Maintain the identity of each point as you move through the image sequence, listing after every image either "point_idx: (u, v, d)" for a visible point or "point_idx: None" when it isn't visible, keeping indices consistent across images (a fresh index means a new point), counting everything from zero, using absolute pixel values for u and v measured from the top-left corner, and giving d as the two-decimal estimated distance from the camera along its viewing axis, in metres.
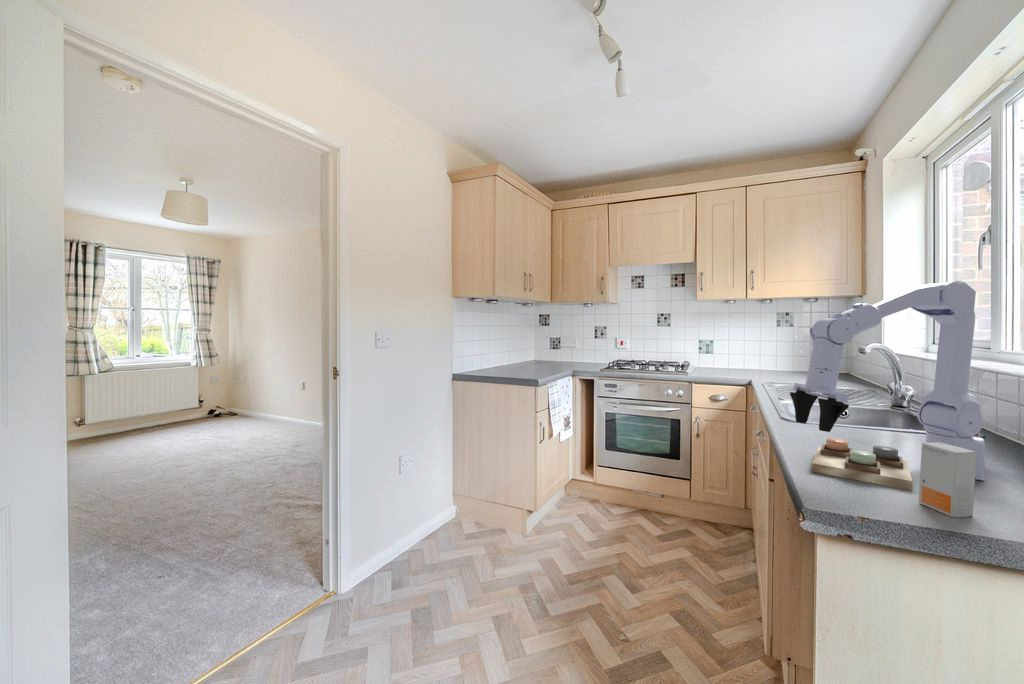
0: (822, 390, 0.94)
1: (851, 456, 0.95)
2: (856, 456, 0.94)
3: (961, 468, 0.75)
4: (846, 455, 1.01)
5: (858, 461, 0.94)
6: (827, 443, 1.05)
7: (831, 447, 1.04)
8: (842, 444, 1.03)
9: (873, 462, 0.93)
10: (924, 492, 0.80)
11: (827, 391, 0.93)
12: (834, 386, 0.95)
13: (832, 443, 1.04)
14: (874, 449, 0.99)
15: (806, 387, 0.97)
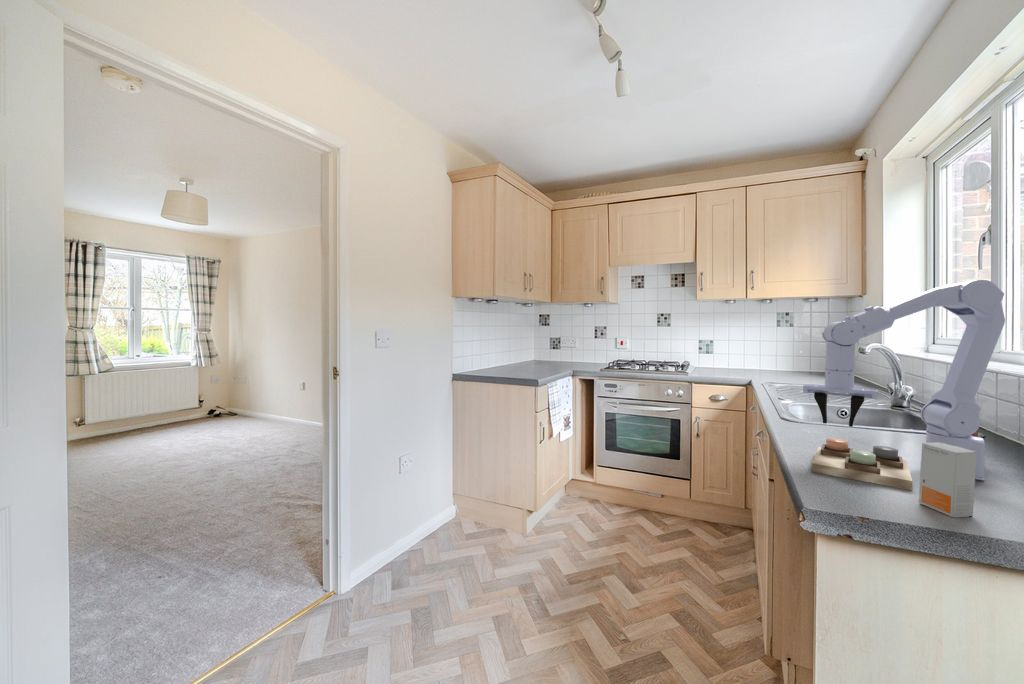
0: (856, 391, 1.00)
1: (851, 456, 0.95)
2: (856, 456, 0.94)
3: (961, 468, 0.75)
4: (846, 455, 1.01)
5: (858, 461, 0.94)
6: (827, 443, 1.05)
7: (831, 447, 1.04)
8: (842, 444, 1.03)
9: (873, 462, 0.93)
10: (924, 492, 0.80)
11: (862, 391, 1.00)
12: None
13: (832, 443, 1.04)
14: (874, 449, 0.99)
15: (842, 391, 1.01)
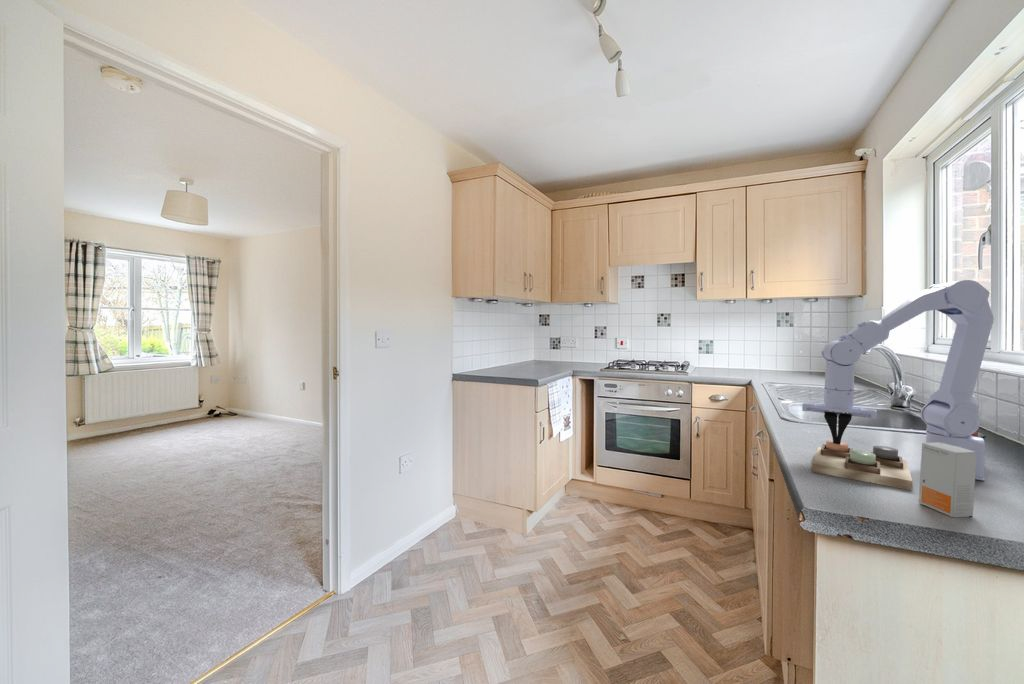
0: (855, 410, 1.01)
1: (851, 456, 0.95)
2: (856, 456, 0.94)
3: (961, 468, 0.75)
4: (846, 455, 1.01)
5: (858, 461, 0.94)
6: (827, 445, 1.05)
7: (831, 449, 1.04)
8: (842, 446, 1.03)
9: (873, 462, 0.93)
10: (924, 492, 0.80)
11: (861, 411, 1.00)
12: None
13: (832, 445, 1.04)
14: (874, 449, 0.99)
15: (842, 410, 1.01)
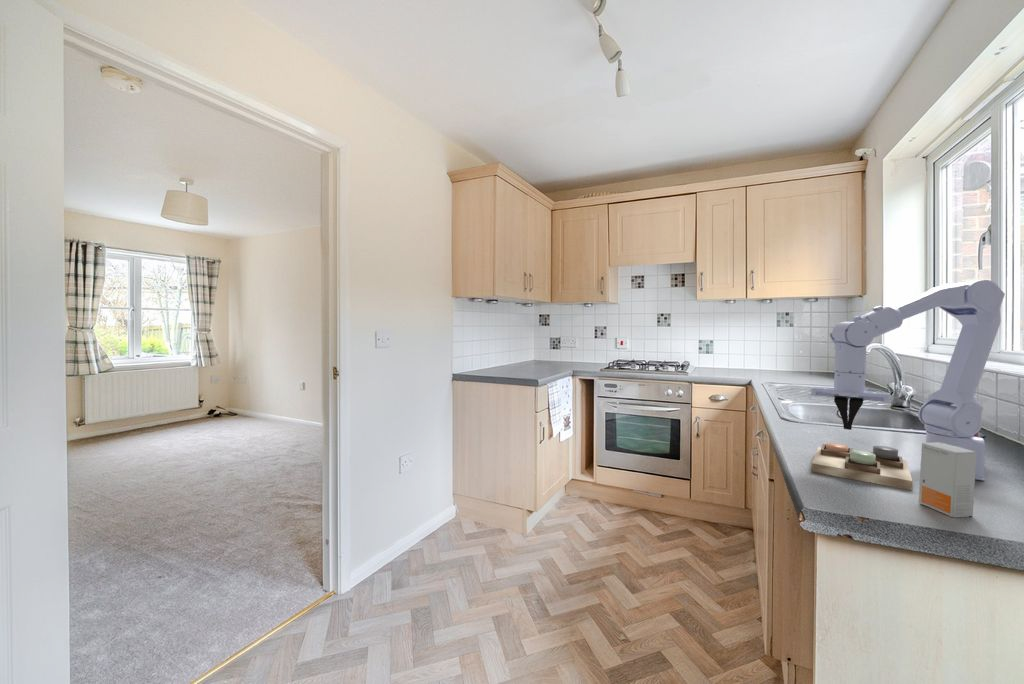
0: (867, 394, 0.96)
1: (851, 456, 0.95)
2: (856, 456, 0.94)
3: (961, 468, 0.75)
4: (846, 455, 1.01)
5: (858, 461, 0.94)
6: (827, 448, 1.05)
7: None
8: (842, 449, 1.03)
9: (873, 462, 0.93)
10: (924, 492, 0.80)
11: (873, 394, 0.96)
12: None
13: (832, 448, 1.04)
14: (874, 449, 0.99)
15: (853, 394, 0.96)
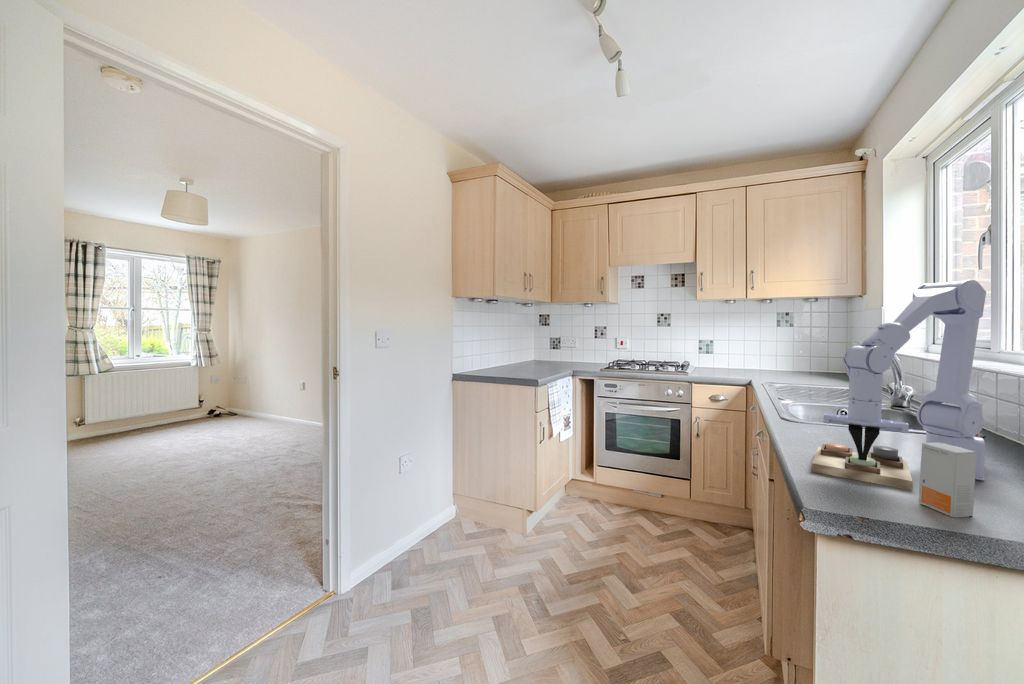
0: (884, 424, 0.91)
1: (851, 461, 0.95)
2: (856, 461, 0.94)
3: (961, 468, 0.75)
4: (846, 455, 1.01)
5: None
6: (827, 448, 1.05)
7: None
8: (842, 449, 1.03)
9: None
10: (924, 492, 0.80)
11: (890, 424, 0.90)
12: None
13: (832, 448, 1.04)
14: (874, 449, 0.99)
15: (869, 423, 0.91)
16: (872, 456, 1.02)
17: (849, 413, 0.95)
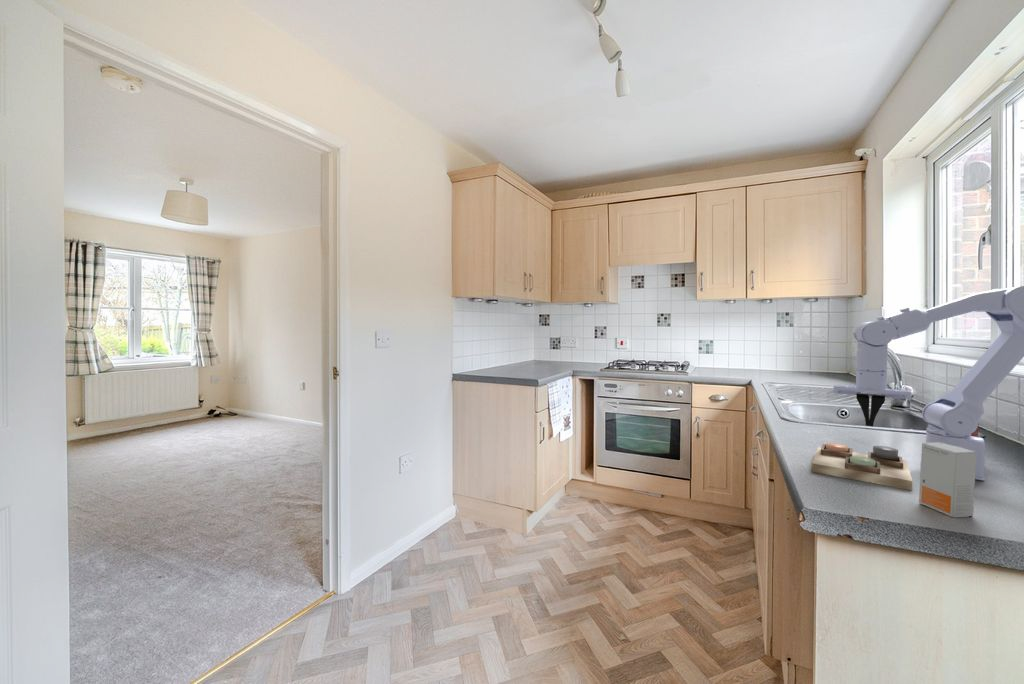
0: (889, 391, 0.99)
1: (851, 462, 0.95)
2: (856, 461, 0.94)
3: (961, 468, 0.75)
4: (846, 455, 1.01)
5: None
6: (827, 448, 1.05)
7: None
8: (842, 449, 1.03)
9: None
10: (924, 492, 0.80)
11: (895, 392, 0.99)
12: None
13: (832, 448, 1.04)
14: (874, 449, 0.99)
15: (875, 391, 1.00)
16: (872, 456, 1.02)
17: (857, 383, 1.04)
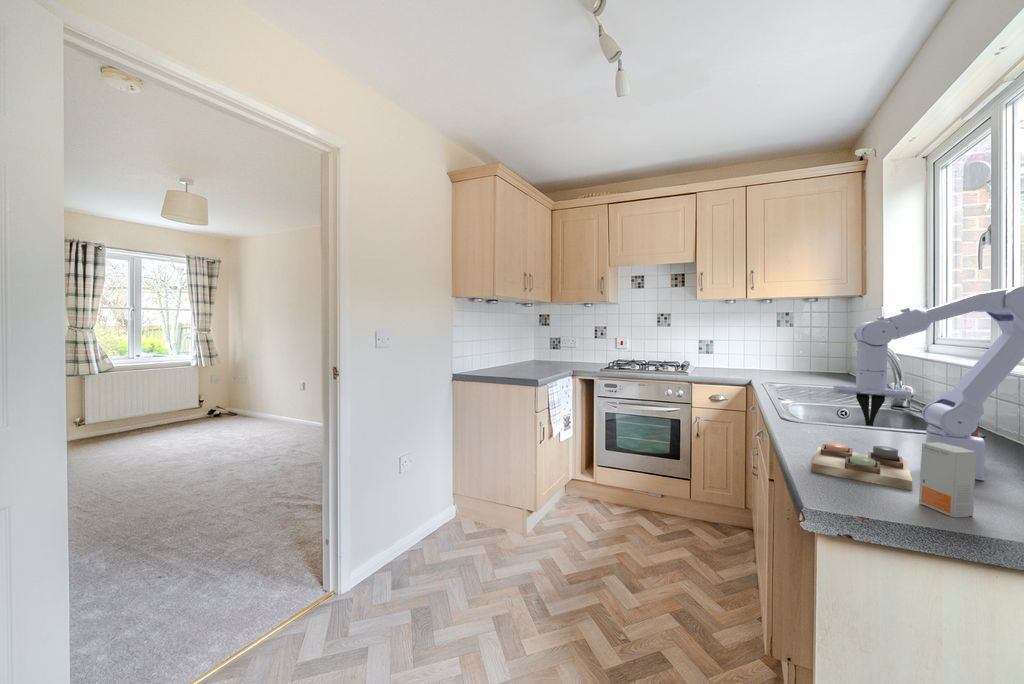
0: (889, 391, 1.00)
1: (851, 462, 0.95)
2: (856, 461, 0.94)
3: (961, 468, 0.75)
4: (846, 455, 1.01)
5: None
6: (827, 448, 1.05)
7: None
8: (842, 449, 1.03)
9: None
10: (924, 492, 0.80)
11: (895, 392, 0.99)
12: None
13: (832, 448, 1.04)
14: (874, 449, 0.99)
15: (875, 391, 1.00)
16: (872, 456, 1.02)
17: (857, 383, 1.04)
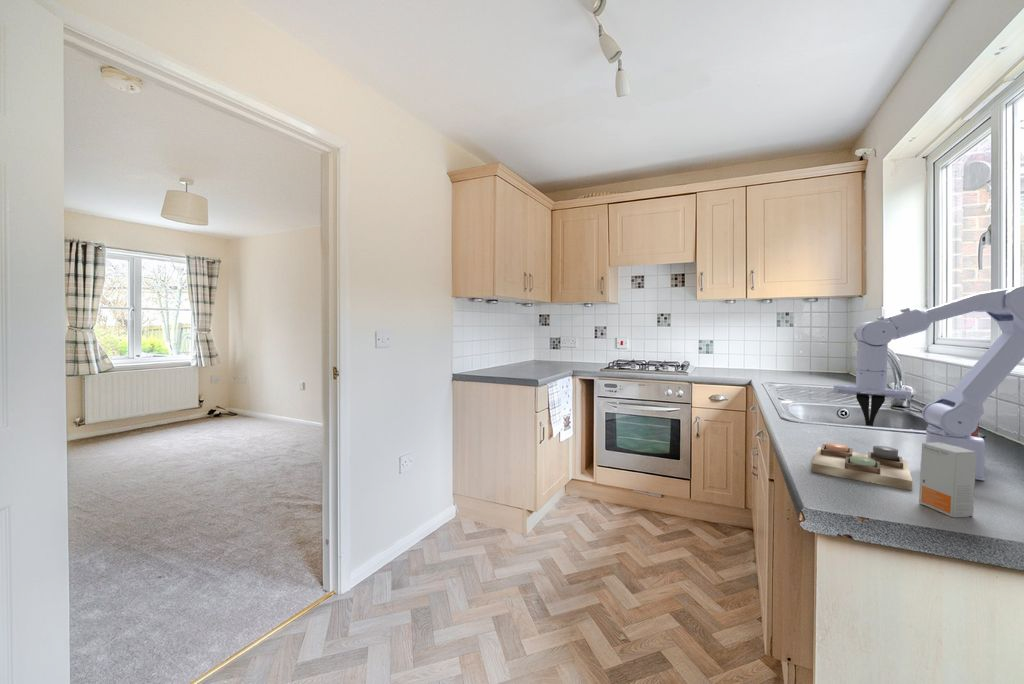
0: (889, 391, 1.00)
1: (851, 462, 0.95)
2: (856, 461, 0.94)
3: (961, 468, 0.75)
4: (846, 455, 1.01)
5: None
6: (827, 448, 1.05)
7: None
8: (842, 449, 1.03)
9: None
10: (924, 492, 0.80)
11: (895, 392, 0.99)
12: None
13: (832, 448, 1.04)
14: (874, 449, 0.99)
15: (875, 391, 1.00)
16: (872, 456, 1.02)
17: (857, 383, 1.04)
